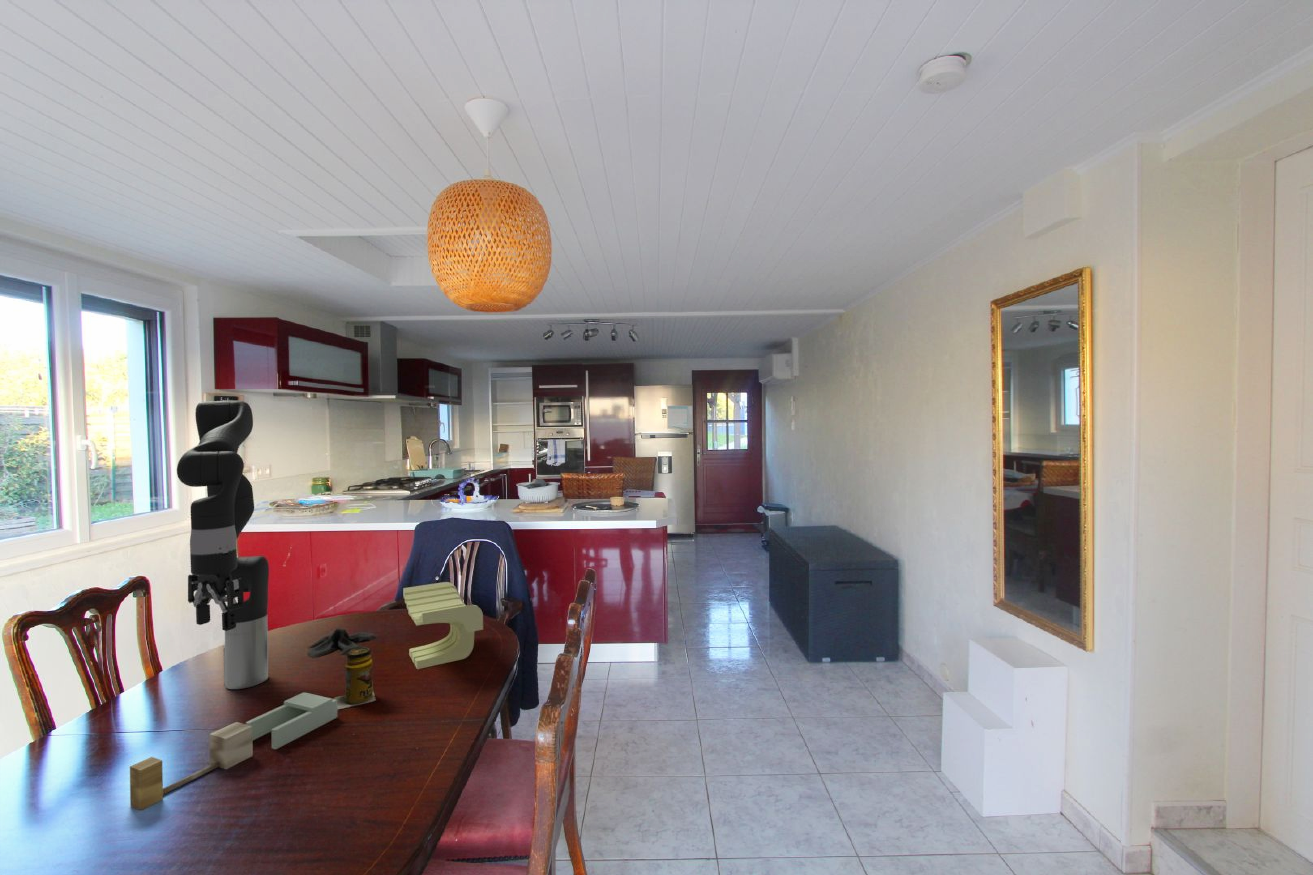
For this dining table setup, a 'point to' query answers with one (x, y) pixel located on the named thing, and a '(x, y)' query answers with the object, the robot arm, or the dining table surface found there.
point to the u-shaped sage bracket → (294, 718)
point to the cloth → (339, 642)
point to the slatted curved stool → (442, 608)
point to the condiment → (357, 679)
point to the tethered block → (223, 754)
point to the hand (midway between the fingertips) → (216, 626)
